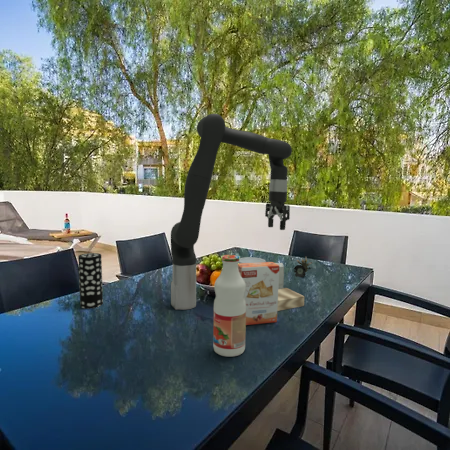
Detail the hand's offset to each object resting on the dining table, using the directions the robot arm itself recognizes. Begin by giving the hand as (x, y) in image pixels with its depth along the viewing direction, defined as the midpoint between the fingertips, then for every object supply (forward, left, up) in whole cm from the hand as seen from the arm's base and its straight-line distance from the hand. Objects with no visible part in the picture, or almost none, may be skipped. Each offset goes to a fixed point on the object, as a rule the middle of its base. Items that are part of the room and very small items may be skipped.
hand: (276, 228), depth 145 cm
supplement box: (+3, +4, -30) cm, 30 cm away
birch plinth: (-5, -10, -29) cm, 32 cm away
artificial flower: (+37, +26, -30) cm, 54 cm away
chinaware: (+8, +33, -30) cm, 45 cm away
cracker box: (-22, -21, -30) cm, 43 cm away
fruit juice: (-40, -35, -30) cm, 61 cm away
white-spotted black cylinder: (-73, +20, -30) cm, 81 cm away
